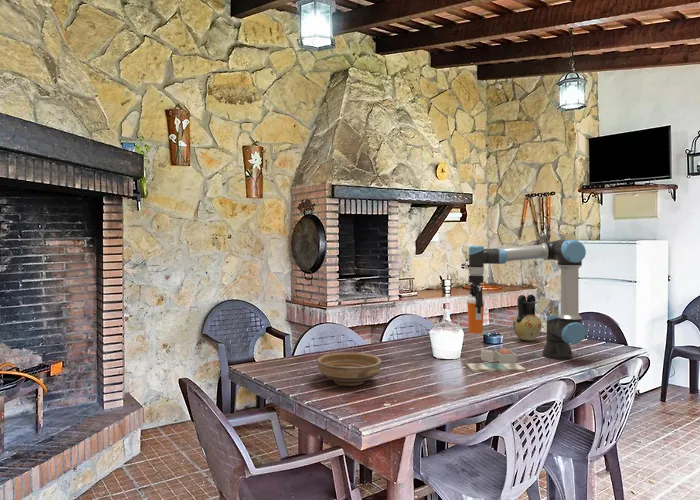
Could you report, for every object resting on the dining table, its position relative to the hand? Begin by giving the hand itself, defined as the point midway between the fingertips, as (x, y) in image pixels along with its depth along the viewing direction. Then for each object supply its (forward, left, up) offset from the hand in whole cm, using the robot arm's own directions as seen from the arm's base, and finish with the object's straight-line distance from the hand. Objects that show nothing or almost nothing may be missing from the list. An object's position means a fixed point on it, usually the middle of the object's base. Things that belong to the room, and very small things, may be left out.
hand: (475, 318), depth 261 cm
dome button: (-17, -3, -23) cm, 29 cm away
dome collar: (-17, -3, -23) cm, 29 cm away
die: (-8, -5, -23) cm, 25 cm away
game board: (-6, +13, -23) cm, 27 cm away
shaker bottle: (0, 0, -8) cm, 8 cm away
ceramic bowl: (+68, +34, -23) cm, 80 cm away
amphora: (-49, -51, -23) cm, 74 cm away
